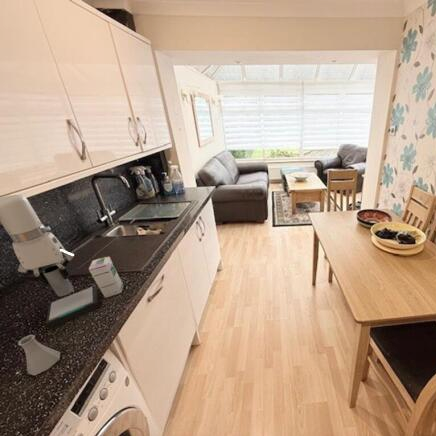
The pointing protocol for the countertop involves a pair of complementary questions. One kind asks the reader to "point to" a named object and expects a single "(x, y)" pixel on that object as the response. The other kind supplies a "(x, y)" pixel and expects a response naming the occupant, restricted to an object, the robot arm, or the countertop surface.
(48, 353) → the flask
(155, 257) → the countertop surface
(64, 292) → the planter
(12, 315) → the countertop surface
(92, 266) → the syrup box
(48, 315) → the scale
